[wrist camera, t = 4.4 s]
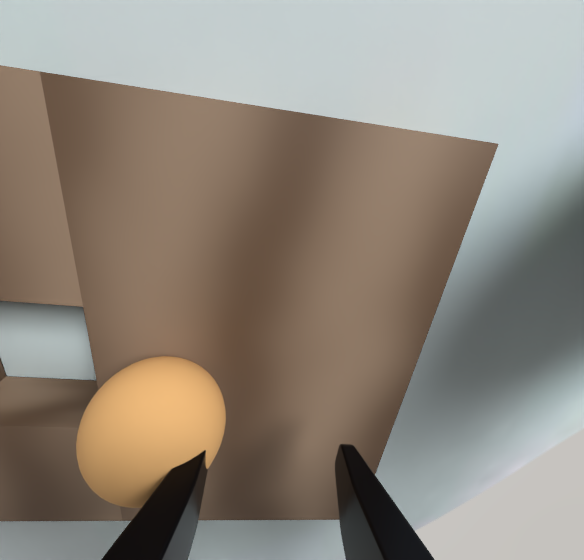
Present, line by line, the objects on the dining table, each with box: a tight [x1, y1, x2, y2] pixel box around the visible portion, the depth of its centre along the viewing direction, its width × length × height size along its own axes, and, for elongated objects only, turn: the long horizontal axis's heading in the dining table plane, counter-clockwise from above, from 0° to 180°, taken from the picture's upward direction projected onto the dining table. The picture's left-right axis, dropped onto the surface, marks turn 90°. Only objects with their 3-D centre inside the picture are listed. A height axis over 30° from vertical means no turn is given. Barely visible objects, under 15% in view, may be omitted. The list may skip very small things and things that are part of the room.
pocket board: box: [0, 65, 498, 521], centre depth 11 cm, size 21×18×2 cm
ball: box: [76, 356, 226, 508], centre depth 9 cm, size 4×4×4 cm
